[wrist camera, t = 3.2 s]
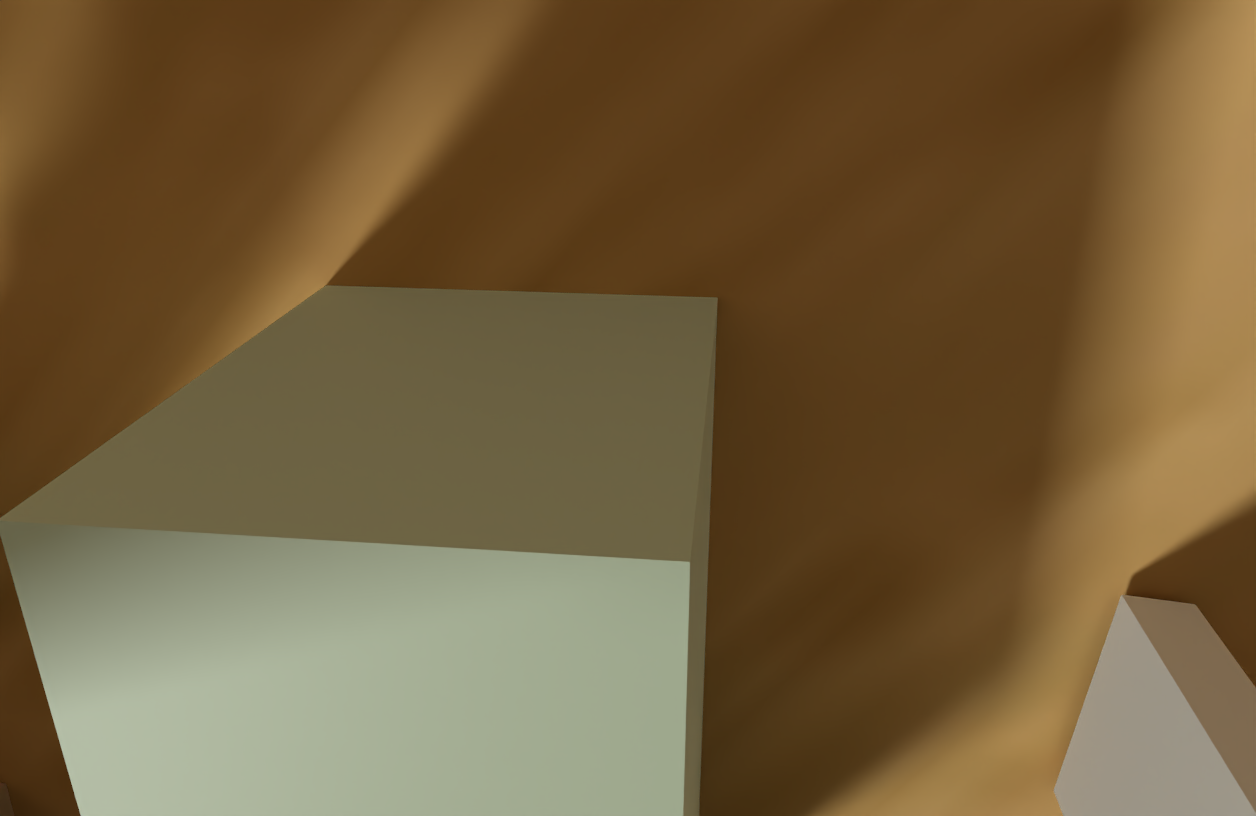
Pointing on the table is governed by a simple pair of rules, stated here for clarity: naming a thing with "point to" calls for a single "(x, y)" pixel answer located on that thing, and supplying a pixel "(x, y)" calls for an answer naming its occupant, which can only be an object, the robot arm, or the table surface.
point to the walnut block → (5, 801)
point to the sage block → (392, 567)
